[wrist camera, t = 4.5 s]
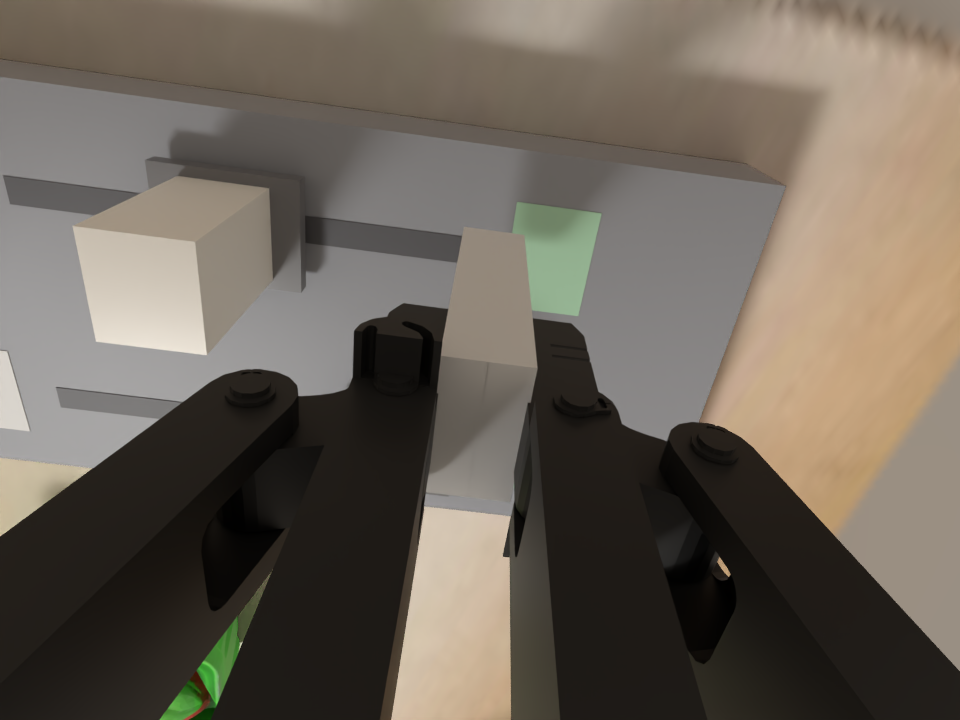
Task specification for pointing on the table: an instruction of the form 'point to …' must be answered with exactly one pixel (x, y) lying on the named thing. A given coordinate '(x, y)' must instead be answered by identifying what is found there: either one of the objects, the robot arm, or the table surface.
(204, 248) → the block
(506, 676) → the table surface
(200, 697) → the fruit basket
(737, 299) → the gray slotted slider panel
